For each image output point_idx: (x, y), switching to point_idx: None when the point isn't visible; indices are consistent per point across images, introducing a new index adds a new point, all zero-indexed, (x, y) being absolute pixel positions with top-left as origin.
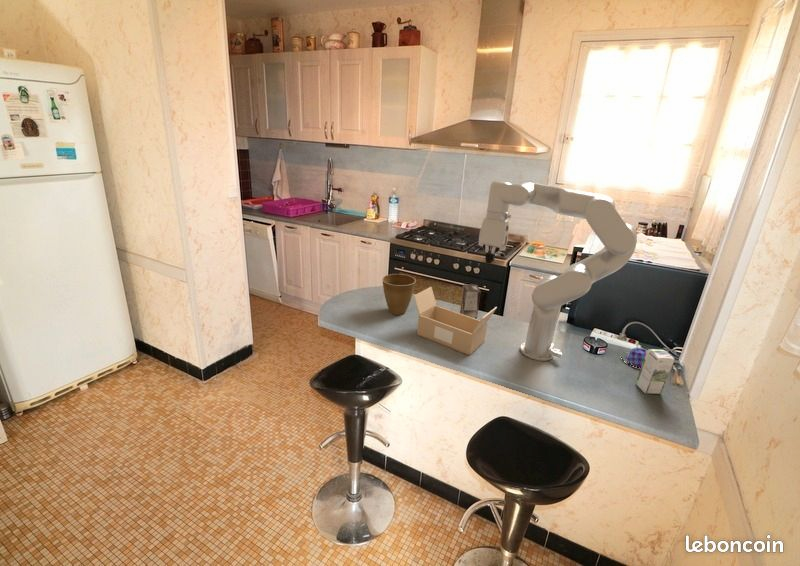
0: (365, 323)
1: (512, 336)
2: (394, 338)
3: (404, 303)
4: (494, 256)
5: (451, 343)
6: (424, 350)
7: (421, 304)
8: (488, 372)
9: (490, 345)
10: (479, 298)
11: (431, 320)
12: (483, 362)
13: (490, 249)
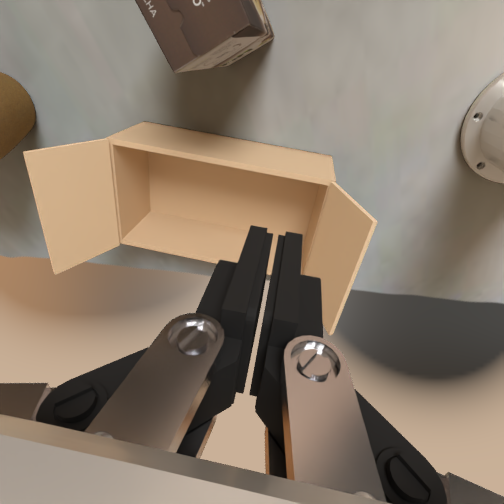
0: (22, 222)
1: (437, 38)
2: (120, 252)
3: (11, 142)
4: (320, 317)
5: None
6: (203, 268)
7: (92, 235)
8: (364, 287)
9: (354, 162)
10: (254, 29)
11: (165, 251)
12: None
13: (215, 371)
